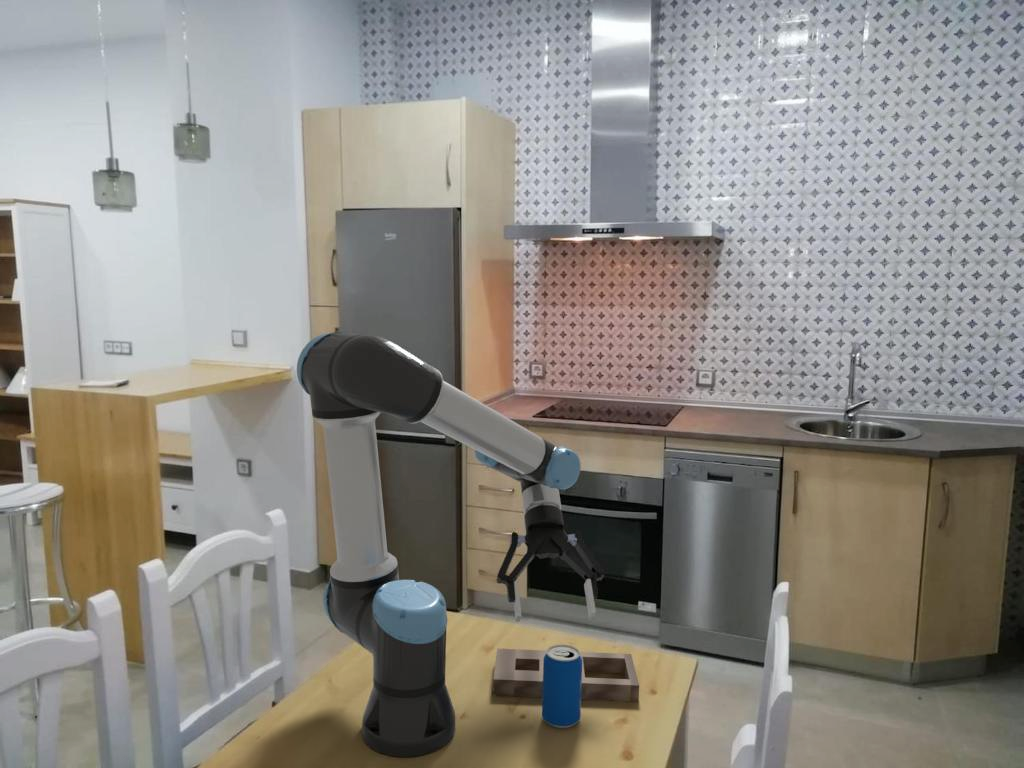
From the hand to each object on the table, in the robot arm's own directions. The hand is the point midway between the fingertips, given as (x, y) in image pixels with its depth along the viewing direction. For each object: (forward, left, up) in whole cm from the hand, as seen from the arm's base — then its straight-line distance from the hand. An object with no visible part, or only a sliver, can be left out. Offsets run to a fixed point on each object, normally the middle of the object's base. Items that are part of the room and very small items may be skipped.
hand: (555, 617), depth 134 cm
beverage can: (+1, -10, -14) cm, 17 cm away
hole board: (+2, +3, -14) cm, 14 cm away
